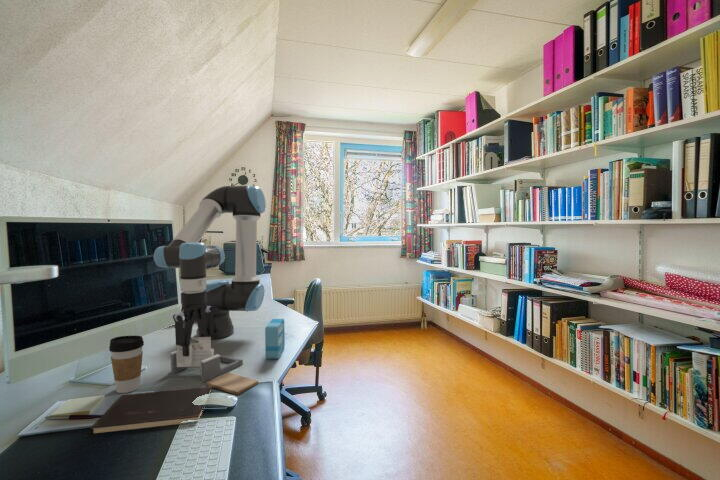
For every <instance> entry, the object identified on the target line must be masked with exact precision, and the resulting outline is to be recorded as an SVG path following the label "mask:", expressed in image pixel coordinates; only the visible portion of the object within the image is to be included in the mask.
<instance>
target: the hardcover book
mask: <svg viewBox="0 0 720 480" xmlns="http://www.w3.org/2000/svg"><path fill="white" fill-rule="evenodd" d="M210 392H211V393H212V392H213V387H211V386H206V387H193V388H192V387H191V388H183V389H182V388H181V389H174V390H173V389H172V390H161V391H151V392H150V391H149V392H138V393H126V394H121V395H120V397H118V398H117V400H116V401H115V402H113V404H112V405H110V406H109V408H108V409H107V410H106V411H105V412H104V413H103V414H102V415H101V416H100V418H98V419H97V420H96V422H95V423H94V424H93V425H92V426H91V427H90V429H92V430H93V434H99V433H101V434H102V433H108V432H109V433H111V432H119V431H127V430H128V431H129V430H139V429H147V428H155V427H165V426H171V425H181V424H180V423H181V422H183V421H188V420H198V419H199V418H200V419H201V417H200V416H202V414H203V412H204V410H202V408H203V405H201V406H198V405H194V404H193V403H192V402H193V401H194V400H195V399H196V398H197V397H199V396H202V395H205V394H209V393H210ZM211 393H210V394H211ZM202 411H203V412H202ZM200 419H199V420H200Z"/></svg>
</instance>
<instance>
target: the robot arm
mask: <svg viewBox="0 0 720 480" xmlns="http://www.w3.org/2000/svg"><path fill="white" fill-rule="evenodd" d="M266 207H267V205H266V198H265V195H264V192H263V190H262V189H261V188H260V186H256V185H231V186H230V185H224V186H220V187H217V188H215V189H214V190H212V191H210V192H209V193H208V194H207V195H205V196H204V197H203V198H202V199H201V201H200V202H199V204H198V208H197V209H196V211H195V212H194V213H193V215H191V217H190V218H189V220H188V221H186V223H185V224H184V225H183V227H182V228H181V230H180V231H179V232H178V233H177V234H176V235H175V237H174V238H173V239H172V240H171V241H170V243H169V244H168V245H162V246H158V247H157V248H156V249H155V250H154V253H153V261H154V263H155V265H156V266H157V267H159V268H163V269H164V268H166V269H179V272H180V273H179V274H180V278H179V279H180V280H179V284H180V285H179V288H180V289H179V290H180V291H181V292H180V304H181V308H182V309H181V310H180V312H179V313H177V314H175V313H174V314H173V315H172V319H173V321H174V331H175V336H174V337H175V346H176V345H178V346H182V351H183V356H185V365H187V366H190V367H189V368H192V367H191V366H193V361H192V345H190V343H191V340H190V339H191V337H192V333H193V325H195V322H196V325H197V328H196V336H195V337H211V340H217V339H221V338H222V339H223V338H226V337H230V336H232V335H233V334H234V333H235V331H234V330H235V329H234V328H235V327H234V324H233V322H232V319H231V316H230V312H247V313H248V312H257V311H258V310H259V309H260V307H262V305H263V302H264V298H265V291H266V290H265V285H264V284H263V283H260V278H259V277H258V276H257V239H258V236H257V235H258V234H257V233H258V232H257V231H258V230H257V229H258V220H259V219H261V214H263V213H265V211H266ZM227 213H228V214H229V213H230V214H232V218H233V219H234V220H235V267H234V268H235V270H234V272H235V275H234V277H232V278H231V283H230V280H229V279H220V280H213V281H208V282H207V270H208V269H212V268H217V267H218V266H220V265H222V264H223V263H224V261H225V259H226V255H225V252H224V249H223V248H222V247H220V246H218V245H209V246H206V244H205V243H204V242H203V241H202V242H201V241H200V240H202V238H203V237H204V235H205V234H206V232H207V231H208V229H209V228H210V227H211V225H212V224H213V223H214V221H215V220H216V219H219V218H220V217H221V216H222V215H223V214H227ZM195 320H196V321H195ZM197 343H199V341H198V342H197Z"/></svg>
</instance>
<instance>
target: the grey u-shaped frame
mask: <svg viewBox="0 0 720 480" xmlns="http://www.w3.org/2000/svg"><path fill="white" fill-rule="evenodd" d="M176 352H177V350H175V351H172V352H170V353H169V354H170V373H173V374H175V373H176V372H179V371H182V370H184V369H186V368H188V367H177V358H176ZM221 362H224V363H228V364H227V365H224V366H221ZM243 364H244V361H243V359H241V358H238V357H232V356H228V355H224V354H221V353H217V352H214V356H212V357H209V358H207V359H204V360H202V361H201V367H200V368H201V369H200V371H201V372H200V373H201V382H202V383H206V382H208V381H210V380H212V379H215V378H217V377H219V376H221V375H223V374H225V373H227V372H229V371H232V370H234V369H236V368H237V367H240V366H242V365H243Z"/></svg>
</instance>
